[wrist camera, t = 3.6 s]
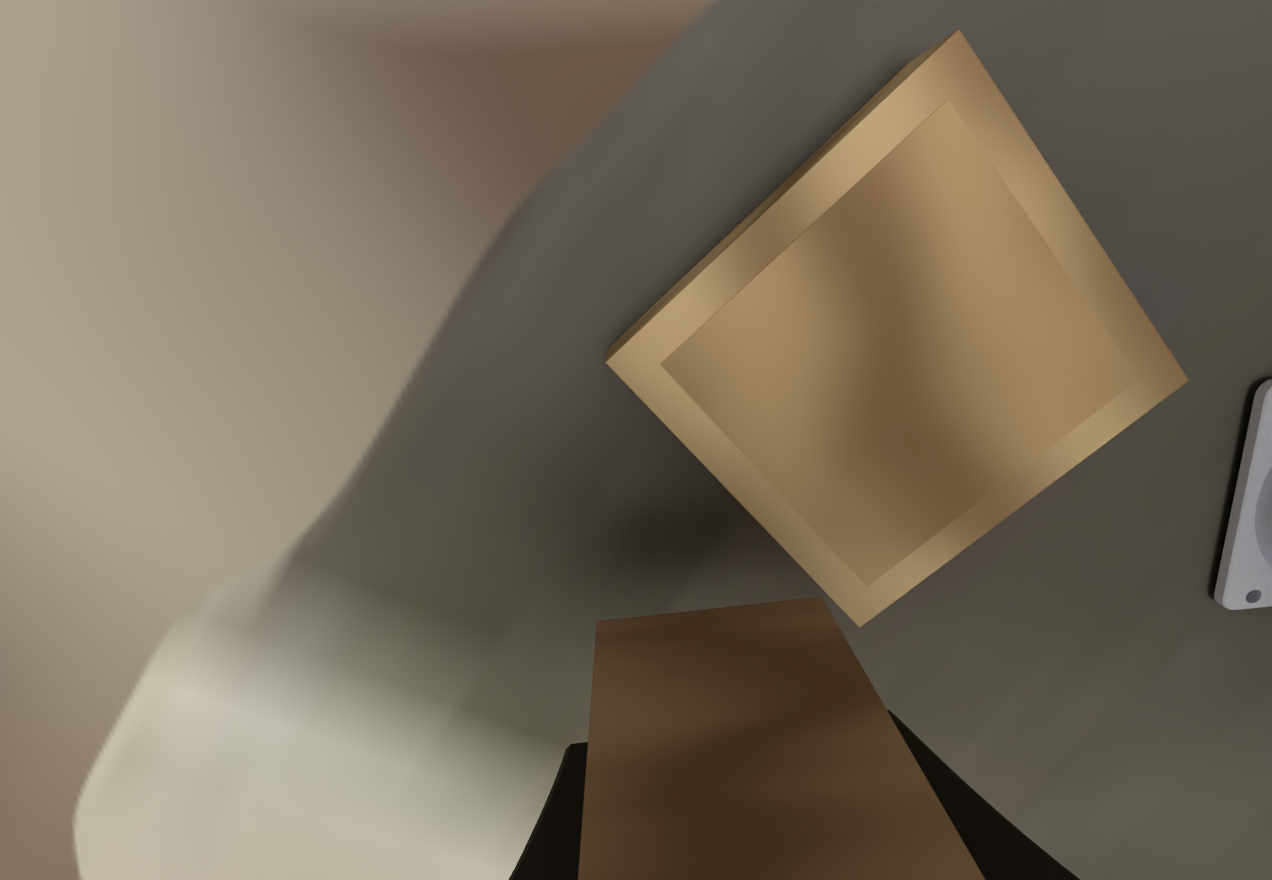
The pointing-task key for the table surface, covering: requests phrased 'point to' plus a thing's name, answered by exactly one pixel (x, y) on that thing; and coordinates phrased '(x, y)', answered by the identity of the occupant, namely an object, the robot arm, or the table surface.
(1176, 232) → the table surface
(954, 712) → the table surface
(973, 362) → the oak plinth
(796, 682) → the walnut block
